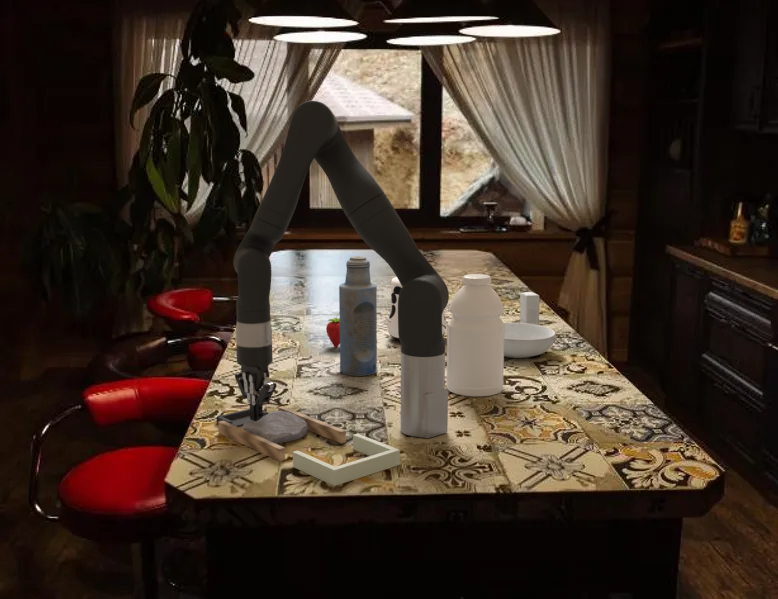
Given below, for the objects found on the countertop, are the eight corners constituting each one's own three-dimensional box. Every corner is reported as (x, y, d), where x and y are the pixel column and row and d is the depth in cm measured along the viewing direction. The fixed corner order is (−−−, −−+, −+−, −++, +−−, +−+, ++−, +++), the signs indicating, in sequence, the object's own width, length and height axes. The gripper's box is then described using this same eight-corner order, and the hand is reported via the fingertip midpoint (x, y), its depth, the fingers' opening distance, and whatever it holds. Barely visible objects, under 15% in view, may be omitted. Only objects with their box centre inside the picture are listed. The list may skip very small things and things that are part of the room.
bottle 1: (348, 378, 244) (347, 261, 238) (334, 368, 253) (333, 255, 247) (382, 374, 248) (382, 258, 242) (368, 365, 256) (368, 253, 251)
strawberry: (345, 343, 280) (345, 310, 278) (348, 350, 272) (347, 315, 270) (325, 344, 279) (325, 310, 277) (327, 350, 271) (326, 316, 270)
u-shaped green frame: (399, 464, 184) (399, 449, 184) (334, 485, 174) (334, 470, 173) (357, 447, 194) (357, 433, 193) (293, 466, 183) (292, 451, 183)
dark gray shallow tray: (268, 418, 212) (268, 412, 211) (229, 428, 205) (229, 421, 205) (255, 413, 215) (255, 407, 215) (216, 423, 209) (216, 416, 208)
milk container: (458, 341, 283) (459, 280, 280) (410, 349, 274) (410, 286, 270) (423, 330, 297) (423, 272, 294) (376, 337, 288) (376, 278, 284)
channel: (345, 442, 197) (345, 430, 196) (279, 461, 186) (279, 449, 186) (282, 417, 213) (282, 406, 212) (218, 433, 202) (218, 421, 202)
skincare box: (539, 334, 292) (541, 295, 290) (525, 335, 291) (526, 295, 289) (532, 329, 298) (533, 291, 296) (518, 330, 297) (519, 291, 295)
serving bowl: (520, 368, 254) (521, 342, 253) (463, 353, 270) (464, 329, 268) (570, 355, 268) (571, 331, 266) (513, 341, 283) (514, 318, 282)
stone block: (311, 442, 203) (278, 424, 208) (314, 422, 201) (280, 404, 206) (271, 460, 194) (237, 440, 199) (273, 439, 192) (239, 419, 197)
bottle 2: (438, 393, 231) (440, 278, 225) (454, 379, 243) (456, 269, 238) (496, 400, 226) (499, 282, 220) (509, 384, 239) (512, 273, 233)
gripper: (287, 344, 200) (288, 423, 204) (251, 333, 210) (253, 409, 214) (256, 350, 196) (259, 431, 199) (222, 338, 205) (224, 416, 209)
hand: (256, 420), depth 206 cm, fingers closed
